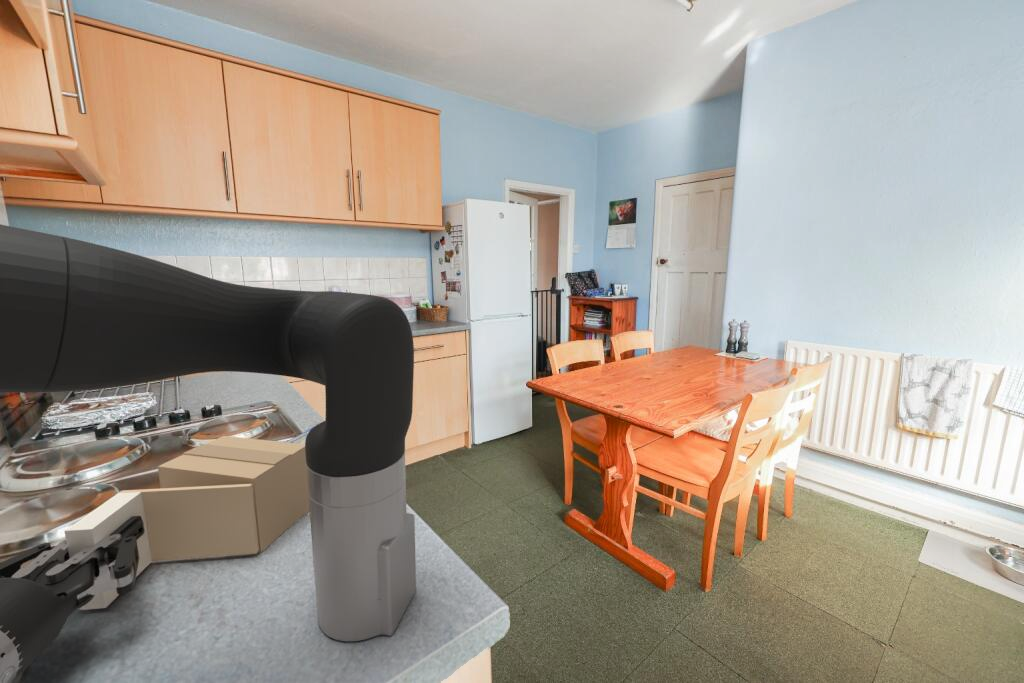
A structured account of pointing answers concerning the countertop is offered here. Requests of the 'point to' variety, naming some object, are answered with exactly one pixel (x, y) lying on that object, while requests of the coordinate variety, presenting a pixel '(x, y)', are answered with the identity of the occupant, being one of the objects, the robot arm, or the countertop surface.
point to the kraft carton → (249, 478)
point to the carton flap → (173, 525)
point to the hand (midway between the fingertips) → (122, 524)
